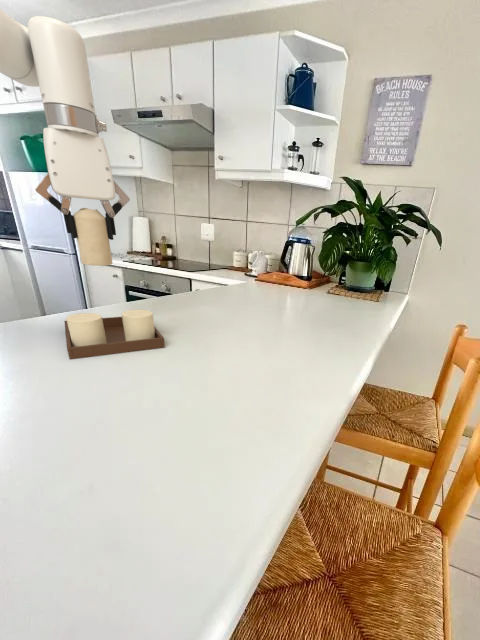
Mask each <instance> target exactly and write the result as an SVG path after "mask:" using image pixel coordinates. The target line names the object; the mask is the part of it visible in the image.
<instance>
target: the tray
mask: <svg viewBox="0 0 480 640" xmlns="http://www.w3.org/2000/svg"><path fill="white" fill-rule="evenodd" d="M102 320H103V325H104V331H105V336H106V341H107V343H105V344H96V345H87V346H78V347H73V344H72V340H71V336H70V332H69V328H68V324H67V320H64V322H63V323H64V331H65V342H66V343H65V344H66V351H67V355H68V358H69V360H78V359H86V358H93V357H94V358H95V357H102V356H103V357H104V356H109V355H118V354H119V355H120V354H126V353H127V354H128V353H132V352H133V353H134V352H141V351H150V350H157V349H166V345H165V344H166V343H165V337H164V336H163V335H162V334H161V332H160V331H159V330H158V329H157V327H156V326H155V325H154V330H155V338H152V339H142V340H133V341H126V339H125V333H124V326H123V320H122V316H113V317H111V316H110V317H102Z"/></svg>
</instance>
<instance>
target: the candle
mask: <svg viewBox="0 0 480 640" xmlns="http://www.w3.org/2000/svg"><path fill="white" fill-rule="evenodd" d="M105 217H106V216H105V215H103V214H102V213H101V212H100V211H99V210H98V209H97V208H96V209H91V208H88V207H82V208H79V210H77V211H76V212H74V213H73V219H74V224H75V229H76V234H77V238H76V240H77V241H76V242H77V246H78V251H79V256H80V261H81V264H83V265H87V266H95V267H96V266H99V267H100V266H102V267H103V266H112V265H113V257H112V251H111V244H110V243H111V242H110V239H109V236H108V230H107V223H106V218H105Z"/></svg>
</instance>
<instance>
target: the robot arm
mask: <svg viewBox="0 0 480 640" xmlns="http://www.w3.org/2000/svg"><path fill="white" fill-rule="evenodd" d="M0 73H1V74H2V75H4V76H5V77H7V78H9V79H11V80H13V81H14V82H17V83H18V84H21V85H24V86H26V87H34V88H36V87H37V88H38V87H39V91H40V96H41V100H42V101H41V102H42V105H43V111H44V115H45V121H46V125H47V127H44V128H43V131H42V135H43V136H42V137H43V138H42V139H43V147H44V154H45V155H44V156H45V161H46V169H47V173H46V175H44V177H43V178H42V179H41V181H40V182H39V183H38V185H37V186H36V187H35V192H36V193H37V194H38V195H40V196H41V197H42V198H44V199H45V200H46V201H47V202H49V203H50V204H51V205H52V206H53V207H55V208H56V209H57V210H58V211H59V212H60V213H61V214H63V218H64V224H65V229H66V233H67V234H71V237H72V239H77V234H76V229H75V224H74V219H73V215H74V214H73V215H72V211H71V210H70V209H71V202H72V198H75V199H86V200H94V201H95V200H96V201H100V204H101V206H102V208H103V210H104V212H105V215H104V217H105V218H106V223H107V230H108V236H109V241H114V236H117V232H116V231H117V230H116V226H115V225H116V223H115V217H116V215H117V214H118V213H119V212H120V211H121V210H122V209H123V208H124V207H125V206H126V205H127V204H128V203H129V202H130V200H131V199H130V197H129V196H128V195H127V194H126V192H125V191H124V190H123V189H122V188H121V186H119V185H118V184H117V182H116V181H115V180H114V176H113V171H112V167H111V162H110V161H111V160H110V158H109V154H108V150H107V147H106V143H105V141H104V138H103V137H101V136H100V135H99V134H100V133H102V132H105V133H107V132H108V129H107V128H108V127H107V123H106V122H105V121H101V120H100V119H99V118H98V117H97V114H96V108H95V101H94V96H93V89H92V81H91V75H90V69H89V63H88V56H87V50H86V45H85V42H84V39H83V37H82V36H81V34H80V33H79V32H78V31H77V30H76V29H75V28H74V27H73V26H71V25H70V24H69V23H66V22H64V21H62V20H59V19H57V18H53V17H50V16H46V15H45V16H44V15H35V16H32V17H31V18H29V20H28V22H27V26H25V25H23V24H22V23H20V22H18V21H17V20H15V19H13V18H12V17H11V16H10V15H9V14H7V13H6V12H4V11H3V10H2V9H1V8H0ZM50 186H51V190H52V191H53V192H54V193H55V194H56V195H58V196H61V201H59V200H58V199H57V198H56V197H54V195H52V193H50V192H49V191H48V189H49V188H50ZM116 195H117V197H118V200H117V201H116V202H114V204H113V205H112V204H111V203H110V201H112V200H114V199H115V198H116Z"/></svg>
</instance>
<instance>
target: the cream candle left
mask: <svg viewBox="0 0 480 640" xmlns="http://www.w3.org/2000/svg"><path fill="white" fill-rule="evenodd" d="M102 318H103V316H102V315H101V314H99V313H95V312H80V313H75V314H71V315H68V316H67V317H66V319H65V320H66V321H67V324H68V328H69V332H70V336H71V340H72V344H73V347H78V346H87V345H96V344H105V343H107V341H106V336H105V331H104V325H103V320H102Z"/></svg>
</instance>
